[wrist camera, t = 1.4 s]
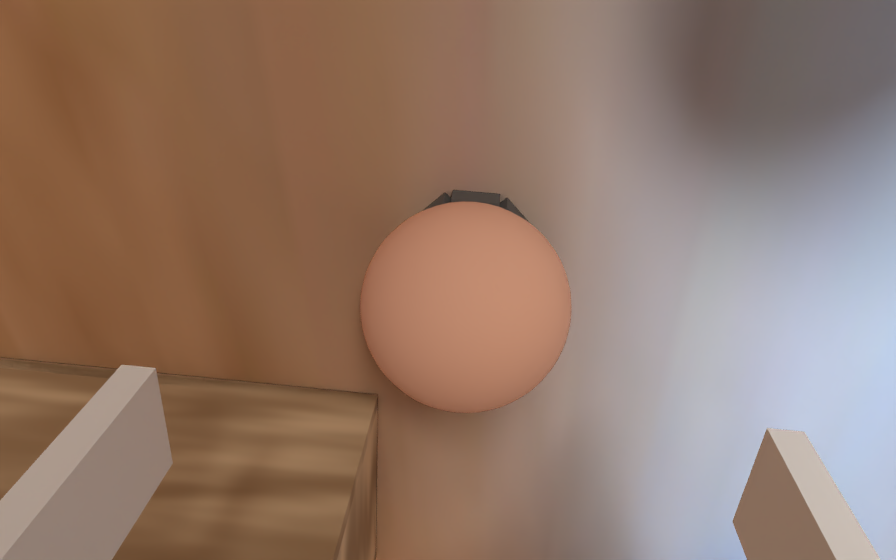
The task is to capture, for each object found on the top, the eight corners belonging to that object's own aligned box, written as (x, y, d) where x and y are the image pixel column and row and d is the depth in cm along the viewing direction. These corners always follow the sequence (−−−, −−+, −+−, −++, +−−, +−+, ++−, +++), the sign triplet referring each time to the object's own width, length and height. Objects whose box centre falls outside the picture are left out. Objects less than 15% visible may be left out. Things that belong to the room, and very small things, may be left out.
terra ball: (380, 163, 20) (336, 249, 15) (576, 180, 20) (601, 273, 15) (378, 327, 23) (341, 447, 18) (549, 343, 23) (562, 470, 18)
